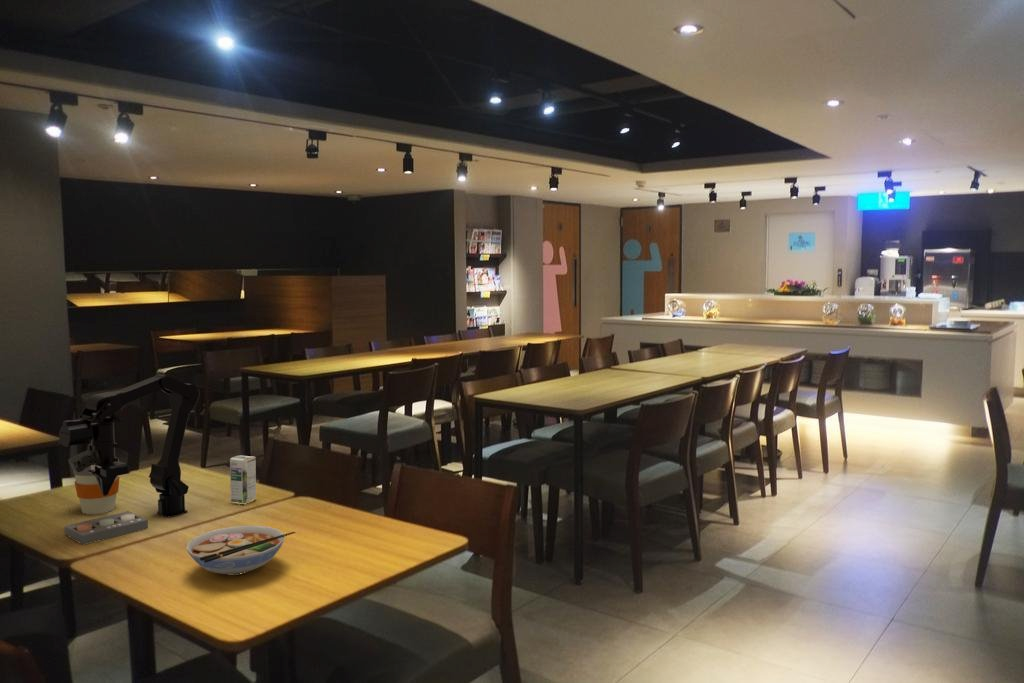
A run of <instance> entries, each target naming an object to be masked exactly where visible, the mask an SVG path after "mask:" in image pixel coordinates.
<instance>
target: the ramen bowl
mask: <svg viewBox="0 0 1024 683" xmlns="http://www.w3.org/2000/svg"><path fill="white" fill-rule="evenodd" d="M293 534H296V531H291V532H289V533H284V532H282V531H281V530H279V529H278V528H276V527H275V528H273V527H269V526H264V525H249V524H248V525H236V526H228V527H227V526H226V527H223V528H219V529H218V528H217V529H213V530H210V531H206V532H204V533H202V534H198V535H197V536H195V537H193V538H192V539H191V540H189V541H188V542H187V544H186V547H185V549H186V551H187V553H188V554H189V556H190V557H191V558H192V559H193V561H194V562H196V563H197V564H198V565H199V566H200V567H201V568H202V569H203V570H206V571H208V572H212V573H216V574H223V575H225V574H240V573H244V572H247V571H250V572H251V571H254V570H255V569H258V568H260V567H262V566H263V567H264V565H265V564H267V563H268V562H270V561H271V560H272V559H273V558H274V557H275V555H276V554H277V553H279V550H280V548H282V546H283V543H284V542H285V537H287V536H291V535H293ZM247 573H248V572H247ZM244 574H245V573H244Z"/></svg>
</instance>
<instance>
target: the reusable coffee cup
mask: <svg viewBox="0 0 1024 683" xmlns="http://www.w3.org/2000/svg"><path fill="white" fill-rule="evenodd" d="M118 462H120V459H119V458H118ZM113 463H116V462H113ZM89 470H91V466H89V467H87V468H85V469H84V470H83V471H81V472H76V471H73V470H72V473H73V475H74V478H75V481H74V487H75V490H76V491H75V492H76V496H77V498H79V499H78V500H79V503H80V510H81V513H82V512H83V513H82V514H84V513H86V514H85V515H100V513H102V514H106V513H110V512H111V510H112V511H114V510H115V509H116V503H117V502H116V500H117V494H118V493H119V485H120V475H119V476H117V477H116V479H115V480H114V482H113V484H112V487H111V489H110V491H109V493H108V495H106V496H103V495H102V493H101V490H100V487H99V485H98V482H97V479H96V477H95V476H94V475H92V474H91V473H89V472H88V471H89ZM113 509H114V510H113ZM109 511H110V512H109ZM105 512H106V513H105Z"/></svg>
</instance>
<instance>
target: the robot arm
mask: <svg viewBox="0 0 1024 683" xmlns="http://www.w3.org/2000/svg"><path fill="white" fill-rule="evenodd" d="M159 391H162V392H164V393H166V394H167V395H169V398H168V399H169V401H168V402H169V406H170V411H171V413H170V416H169V422H168V426H167V429H166V430H167V431H166V436H165V438H164V444H163V448H162V452H161V453H162V454H161V458H160V459H159V461H158V462H157V463H152V464H151V468H150V473H149V475H148V478H149V484H151V486H152V487H153V488H155V491H156V493H157V494H158V493H159V497H158V500H157V512H156V513H157V514H158V515H160V516H163V517H165V518H171V517H174V516H179V515H183V514H187V513H189V512H188V510H187V509H186V504H185V503H186V502H185V501H186V500H185V499H186V497H185V495H187V494H188V491H189V487H190V486H189V485H187V484H186V483H185V482H184V481H183V480H181V478H182V477H181V475H182V470H181V465H180V460H179V459H180V456H181V452H182V448H183V442H184V437H185V435H186V434H185V433H186V429H187V425H188V424H187V423H188V421H189V415H190V413H192V411H193V410H194V408H196V406H197V403H198V400H199V398H200V393H201V392H200V389H199V388H198V387H197V386H196V385H195V384H192V383H187V382H186V383H185V382H182V381H180V380H177V379H175V378H173V377H171V376H169V375H167V374H159V373H158V374H155V375H154V376H151V377H149V378H147V379H144V380H142V381H139V382H136V383H134V384H132V385H128V386H127V387H123V388H120V389H119V390H114V391H106V392H101V393H99V392H98V393H96V394H95V393H94V394H92V395H90V396H89V397H88V398H87V401H86V403H85V407H84V408H83V410H82V411H81V412H80V414H79V416H78V417H77V419H73V420H63V421H62V425H61V427H60V430H59V432H58V438H59V441H60V443H61V445H62V446H63V447H65V448H66V447H72V446H79V445H83V444H87V448H86V450H85V451H83V452H80V453H78V454H76V455H74V456H72V457H70V458H68V460H67V461H68V464H69V465H70V468H71V470H72V472H73V471H76V472H81V471H83V470H84V469H85V468H87V467H89V466H91V470H89V471H88V472H89V473H91V474H92V475H94V476H95V477H96V479H97V482H98V485H99V487H100V490H101V493H102V495H103V496H106V495H108V493H109V491H110V489H111V487H112V484H113V482H114V480H115V479H116V477H117V476H119V477H120V476H123V475H128V474H130V472H131V470H130V469H131V467H130V465H128V464H127V463H125V462H122V461H119V462H118V459H119V457H116V448H118V442H115V439H116V438H115V424H116V423H122V421H123V420H122V418H120V417H118V416H117V413H118V412H120V411H121V410H122V409H124V407H125V406H127V405H128V404H131V403H132V402H135V401H138V400H140V399H143V398H145V397H147V396H149V395H152V394H155V393H157V392H159ZM89 442H90V443H89ZM113 462H116V463H113Z"/></svg>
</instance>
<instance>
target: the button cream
mask: <svg viewBox="0 0 1024 683" xmlns="http://www.w3.org/2000/svg"><path fill="white" fill-rule="evenodd" d="M135 514H136V513H133V514H125V515H122V516H121V521H127V520H132V519H135Z"/></svg>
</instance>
